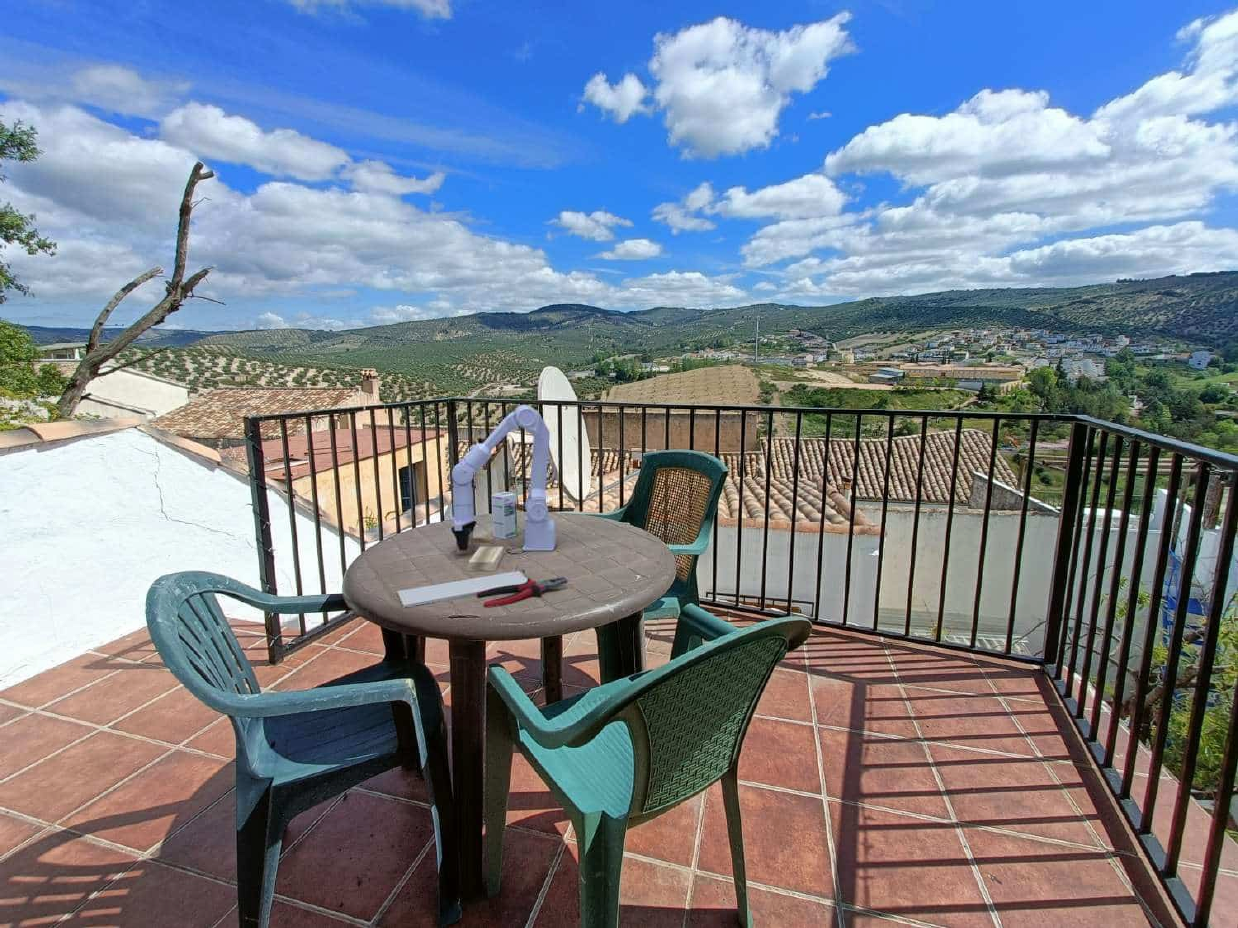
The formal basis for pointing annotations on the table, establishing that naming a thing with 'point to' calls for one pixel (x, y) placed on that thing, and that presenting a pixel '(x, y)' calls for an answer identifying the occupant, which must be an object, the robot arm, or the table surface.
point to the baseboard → (458, 588)
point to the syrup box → (504, 515)
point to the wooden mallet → (474, 540)
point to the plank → (486, 559)
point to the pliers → (525, 588)
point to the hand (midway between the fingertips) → (465, 547)
